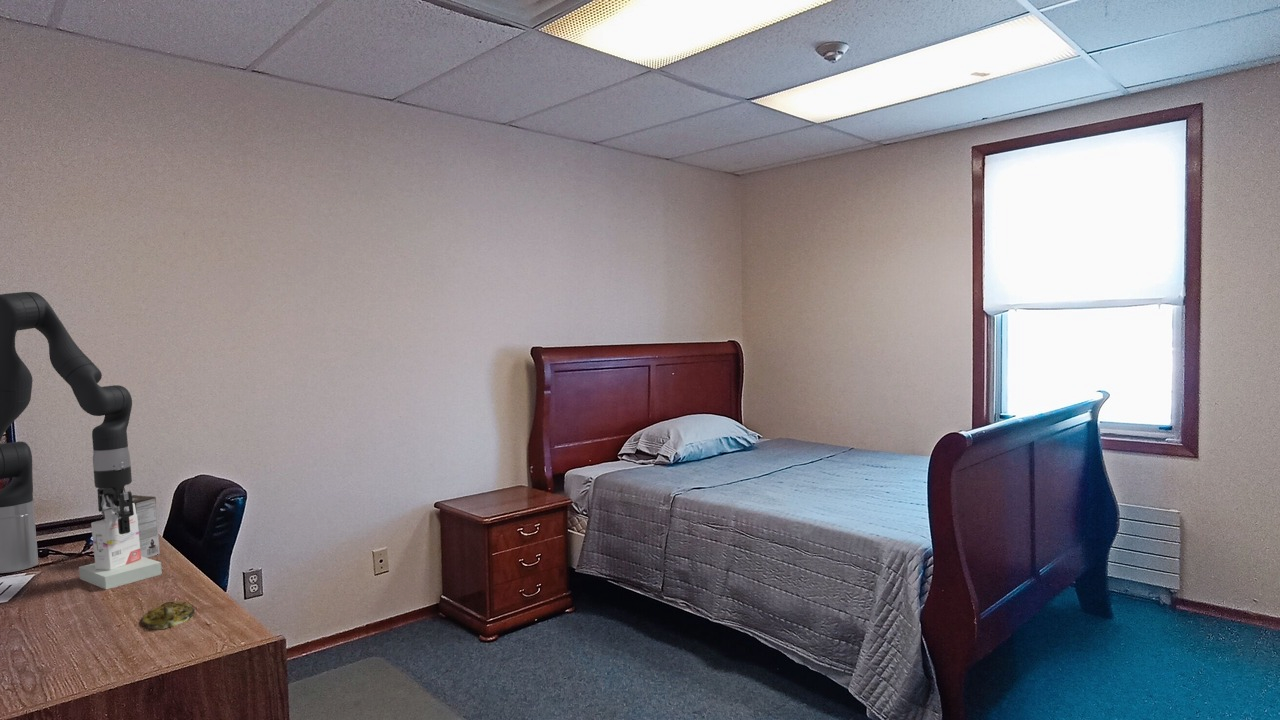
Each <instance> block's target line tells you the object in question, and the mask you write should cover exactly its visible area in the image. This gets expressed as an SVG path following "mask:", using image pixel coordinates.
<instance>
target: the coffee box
mask: <svg viewBox="0 0 1280 720" xmlns="http://www.w3.org/2000/svg"><path fill="white" fill-rule="evenodd" d="M132 502H133V503H134V504H135V508H136V514H137V518H138V529H139V540H140V551H141V556H143V557H146V558H149V559H150V558H152V557H154V556H158V555H160V540H159V539H160V538H159V537H160V536H159V525H158V523H159V522H158V509H157V496H149V495H137V494H132ZM124 512H125V511H124ZM115 515H116V513H115ZM157 554H158V555H157Z"/></svg>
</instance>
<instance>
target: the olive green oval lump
mask: <svg viewBox="0 0 1280 720" xmlns="http://www.w3.org/2000/svg"><path fill="white" fill-rule="evenodd" d="M195 611H196V610H195V607H194V605H192V604H190V603H188V602H187V601H183V602H179V601H166V602H164V603H162V604H161V605H159V606H157V607H155V608H153V609H150V610H148V611H147V612H146V613H145V614H144V615H143V617H142V619H141V620H142V621H141V622H142V623H141V624H142V625H143V626H144V627H145V628H147V629H151V628H153V629H154V630H166V629H165V628H169V629H172V628H171V627H173V628H175V627H178V626H179V625H178V624H180V625H182V624H184V623H186V622H188V621H189V620H190V618H191V617H192V616H193V615H195ZM193 617H194V616H193ZM193 617H192V618H193ZM192 618H191V619H192ZM188 619H189V620H188ZM187 620H188V621H187ZM185 621H186V622H185ZM183 622H184V623H183ZM181 623H182V624H181ZM177 625H178V626H177ZM174 626H175V627H174Z"/></svg>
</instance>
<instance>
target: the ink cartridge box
mask: <svg viewBox="0 0 1280 720" xmlns="http://www.w3.org/2000/svg"><path fill="white" fill-rule="evenodd" d="M133 512H134V515H132V516H131V517H129V522H130V532H129V533H126V534H119V529H118V518H117V515H115V512H113V511H112V509H109V510H105V511H104V515H105V519H104V518H103V519H101V520H96V521H93V522H91V523H90V524H91V536H92V545H93V556H94V563H95V567H96V569H99V570H112V569H115V568H118V567H121V566H123V565H126V564H129V563H132V562H135V561H137V560H140V559H141V551H140V540H139V529H138V518H137V514H136V508H135V504H134V503H133Z"/></svg>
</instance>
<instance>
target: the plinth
mask: <svg viewBox="0 0 1280 720" xmlns="http://www.w3.org/2000/svg"><path fill="white" fill-rule="evenodd" d="M162 573H163V571H162V562H161V561H158V560H155V559H152V558H150V557H149V558H146V557H143V556H141V559H140V560H137V561H135V562H132V563H129V564H126V565H123V566H121V567H118V568H115V569H112V570H99V569H96V567H95V562H94V563H93V562H92V563H90V564H86V565H81V566H78V575H79V580H82V581H84V582H87V583H89V584H92V585H94V586H97V587H98V588H101V589H104V590H109V589H114V588H116V587H120V586H123V585H124V586H125V585H128V584H131V583H135V582H139V581H142V580H146V579H149V578H153V577H157V576H161V575H163V574H162Z"/></svg>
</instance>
